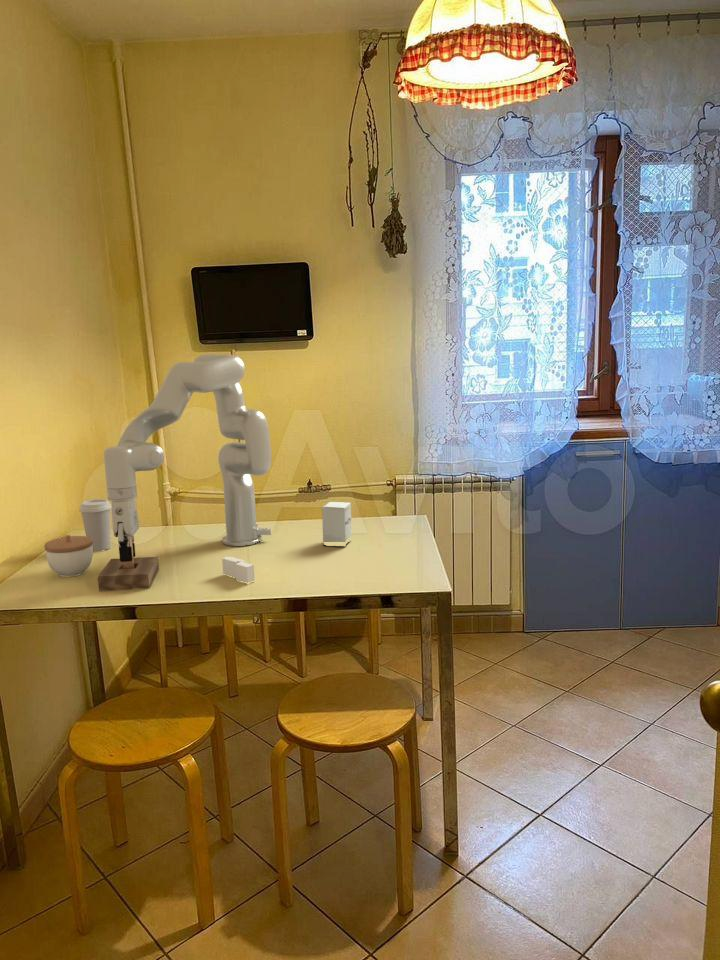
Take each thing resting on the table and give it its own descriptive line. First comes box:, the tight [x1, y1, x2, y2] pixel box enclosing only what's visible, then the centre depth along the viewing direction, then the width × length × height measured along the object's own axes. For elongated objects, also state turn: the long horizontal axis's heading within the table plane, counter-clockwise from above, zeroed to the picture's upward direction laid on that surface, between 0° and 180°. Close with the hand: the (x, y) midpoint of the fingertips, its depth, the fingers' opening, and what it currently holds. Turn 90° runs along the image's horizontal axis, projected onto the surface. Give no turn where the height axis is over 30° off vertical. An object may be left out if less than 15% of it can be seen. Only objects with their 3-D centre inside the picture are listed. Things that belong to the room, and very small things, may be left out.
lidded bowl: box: [44, 534, 94, 578], centre depth 211 cm, size 13×13×11 cm
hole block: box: [97, 556, 160, 592], centre depth 204 cm, size 13×15×4 cm
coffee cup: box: [78, 498, 112, 552], centre depth 233 cm, size 10×10×15 cm
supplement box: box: [321, 501, 353, 543], centre depth 232 cm, size 7×7×13 cm
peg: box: [122, 534, 135, 569], centre depth 203 cm, size 3×3×10 cm
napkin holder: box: [221, 556, 255, 583], centre depth 203 cm, size 15×11×6 cm
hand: (127, 558), depth 203 cm, fingers closed on peg, 3 cm apart
